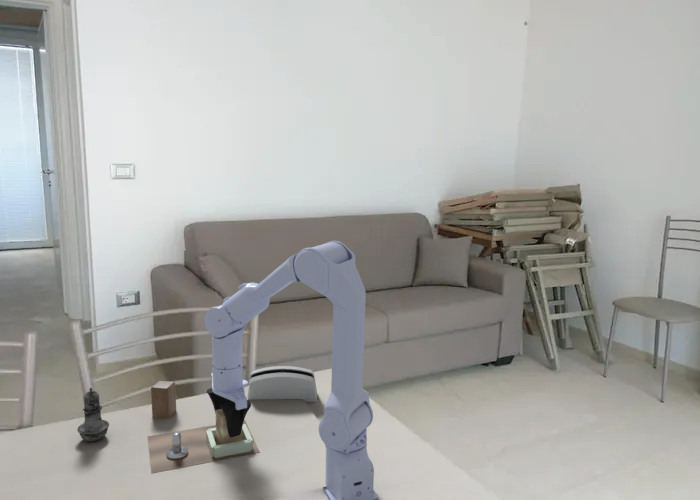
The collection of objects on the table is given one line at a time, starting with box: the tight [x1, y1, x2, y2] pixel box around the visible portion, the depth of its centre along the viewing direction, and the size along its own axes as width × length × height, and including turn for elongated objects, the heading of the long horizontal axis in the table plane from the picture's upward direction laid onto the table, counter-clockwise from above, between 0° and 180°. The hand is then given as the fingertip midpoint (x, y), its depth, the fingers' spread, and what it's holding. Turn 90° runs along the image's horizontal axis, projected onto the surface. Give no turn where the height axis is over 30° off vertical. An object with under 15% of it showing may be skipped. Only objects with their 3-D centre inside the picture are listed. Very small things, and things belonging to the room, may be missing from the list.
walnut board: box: [147, 419, 261, 474], centre depth 112 cm, size 14×20×1 cm
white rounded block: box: [247, 365, 318, 403], centre depth 133 cm, size 17×5×10 cm, turn 94°
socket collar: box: [206, 423, 254, 458], centre depth 111 cm, size 8×8×2 cm
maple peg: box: [215, 409, 243, 445], centre depth 111 cm, size 4×4×7 cm
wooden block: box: [150, 380, 177, 420], centre depth 123 cm, size 4×4×8 cm
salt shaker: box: [76, 386, 110, 442], centre depth 112 cm, size 6×6×12 cm
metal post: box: [166, 431, 188, 460], centre depth 107 cm, size 4×4×4 cm
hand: (229, 428), depth 111 cm, fingers open, 6 cm apart
